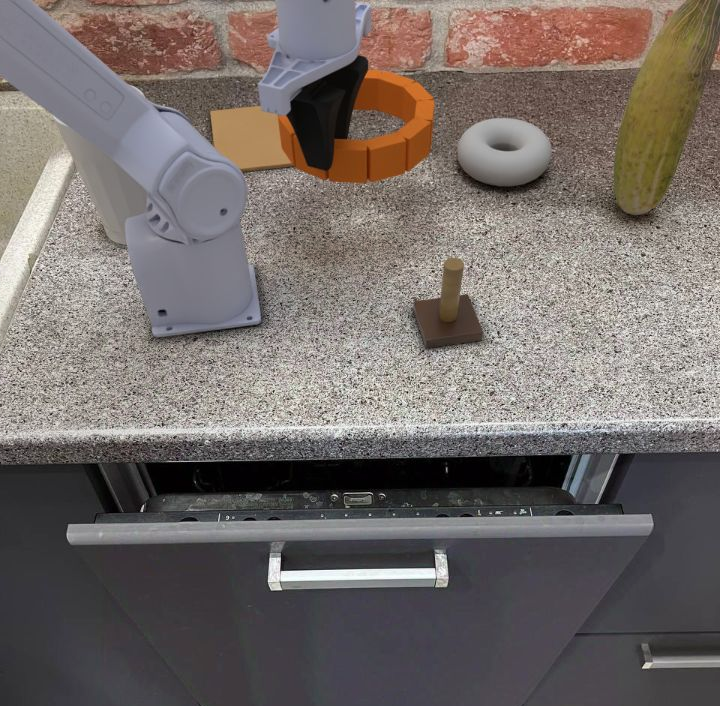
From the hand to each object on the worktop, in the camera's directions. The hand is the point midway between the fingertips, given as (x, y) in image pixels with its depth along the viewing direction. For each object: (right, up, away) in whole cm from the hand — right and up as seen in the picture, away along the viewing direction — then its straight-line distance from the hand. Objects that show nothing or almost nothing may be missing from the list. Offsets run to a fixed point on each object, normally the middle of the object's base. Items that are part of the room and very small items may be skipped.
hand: (325, 158), depth 59 cm
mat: (-7, +12, +20) cm, 24 cm away
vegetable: (+30, 0, +11) cm, 32 cm away
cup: (-20, -2, +11) cm, 22 cm away
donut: (+18, +6, +16) cm, 25 cm away
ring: (+3, +4, +4) cm, 6 cm away
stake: (+11, -14, +2) cm, 17 cm away
